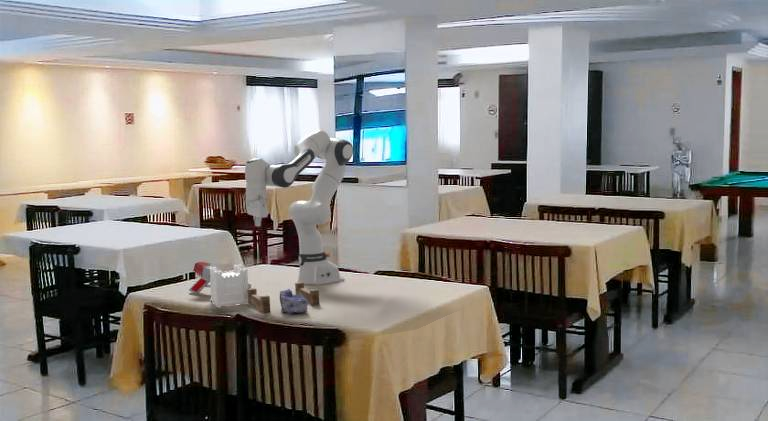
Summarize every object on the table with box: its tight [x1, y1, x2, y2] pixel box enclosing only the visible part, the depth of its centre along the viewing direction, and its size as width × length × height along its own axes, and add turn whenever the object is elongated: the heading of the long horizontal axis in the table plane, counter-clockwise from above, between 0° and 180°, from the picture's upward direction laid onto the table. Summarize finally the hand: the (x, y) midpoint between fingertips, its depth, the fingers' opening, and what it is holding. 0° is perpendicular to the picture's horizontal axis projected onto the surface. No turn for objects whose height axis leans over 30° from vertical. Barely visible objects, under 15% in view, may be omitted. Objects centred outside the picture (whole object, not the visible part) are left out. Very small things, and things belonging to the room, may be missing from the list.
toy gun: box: [188, 261, 252, 295], centre depth 354 cm, size 7×28×15 cm, turn 69°
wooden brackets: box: [247, 282, 321, 314], centre depth 329 cm, size 25×20×6 cm
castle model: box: [209, 264, 249, 308], centre depth 336 cm, size 14×14×15 cm
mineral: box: [279, 288, 309, 315], centre depth 314 cm, size 14×10×10 cm
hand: (257, 226), depth 347 cm, fingers closed
